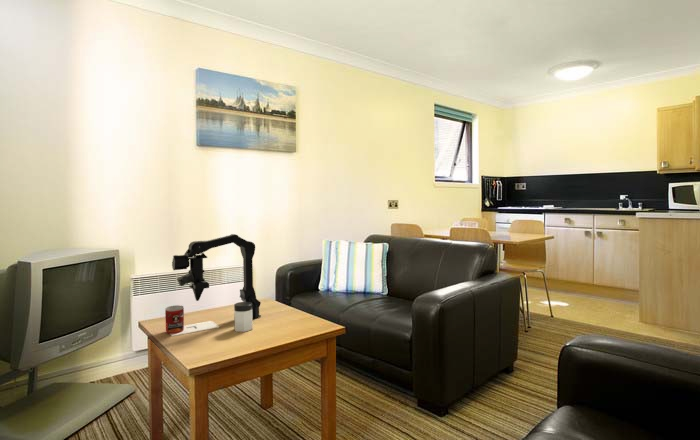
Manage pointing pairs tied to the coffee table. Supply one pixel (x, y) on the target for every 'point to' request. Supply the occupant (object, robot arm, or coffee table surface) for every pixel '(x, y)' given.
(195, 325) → the letter mat
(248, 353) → the coffee table surface
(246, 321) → the jar
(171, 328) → the canned food
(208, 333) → the coffee table surface
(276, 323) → the coffee table surface
